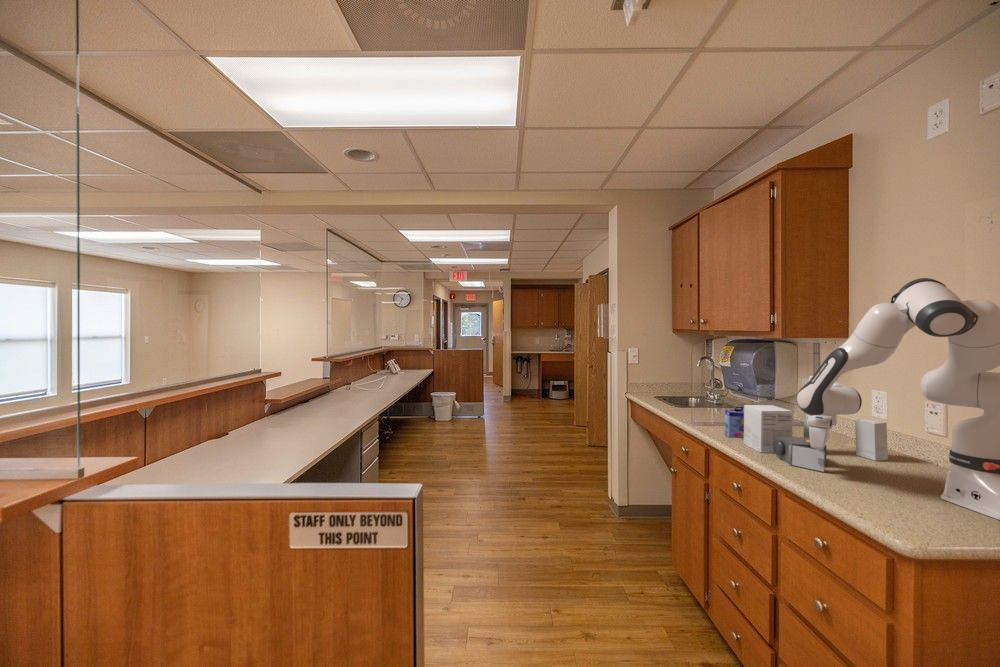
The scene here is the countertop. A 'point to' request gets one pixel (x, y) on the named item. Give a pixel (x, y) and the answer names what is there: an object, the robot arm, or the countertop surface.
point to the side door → (806, 458)
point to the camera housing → (783, 445)
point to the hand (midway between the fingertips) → (819, 455)
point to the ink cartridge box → (734, 422)
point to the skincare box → (871, 439)
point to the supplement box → (766, 426)
